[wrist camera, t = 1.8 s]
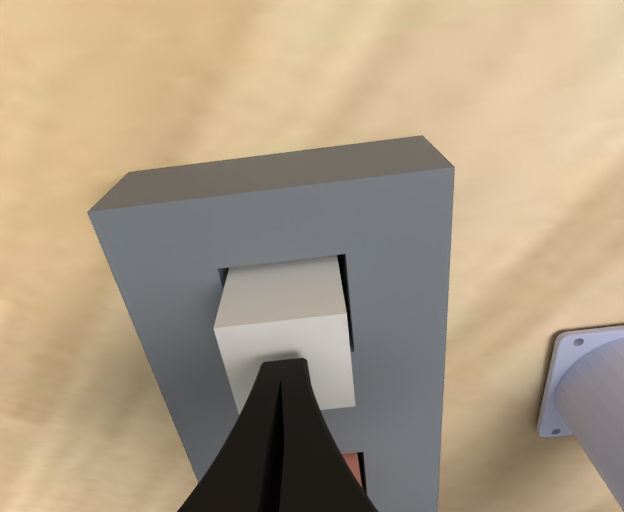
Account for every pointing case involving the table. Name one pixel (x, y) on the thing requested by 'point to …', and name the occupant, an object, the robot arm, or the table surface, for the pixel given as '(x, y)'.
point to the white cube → (287, 326)
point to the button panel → (290, 246)
